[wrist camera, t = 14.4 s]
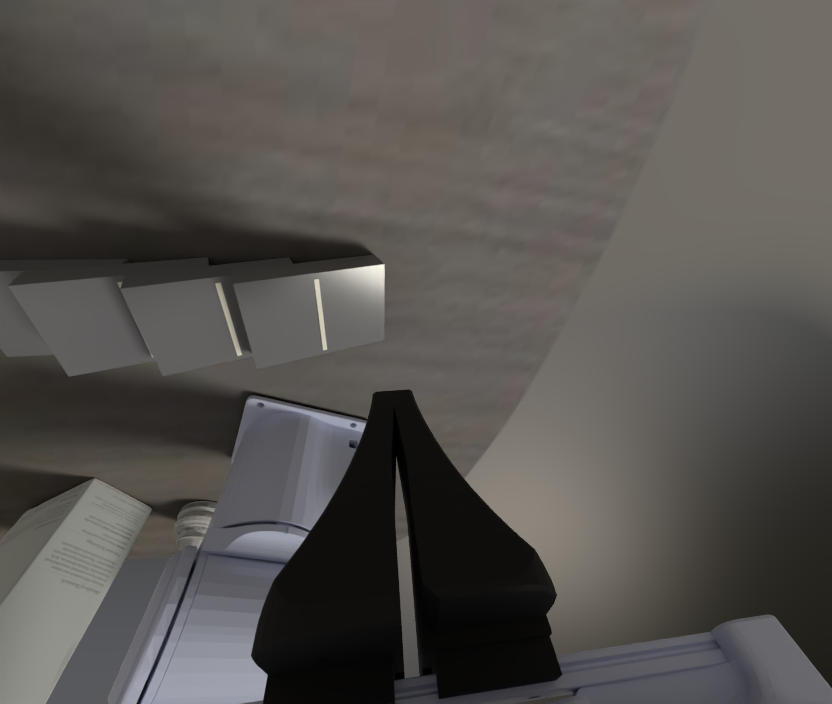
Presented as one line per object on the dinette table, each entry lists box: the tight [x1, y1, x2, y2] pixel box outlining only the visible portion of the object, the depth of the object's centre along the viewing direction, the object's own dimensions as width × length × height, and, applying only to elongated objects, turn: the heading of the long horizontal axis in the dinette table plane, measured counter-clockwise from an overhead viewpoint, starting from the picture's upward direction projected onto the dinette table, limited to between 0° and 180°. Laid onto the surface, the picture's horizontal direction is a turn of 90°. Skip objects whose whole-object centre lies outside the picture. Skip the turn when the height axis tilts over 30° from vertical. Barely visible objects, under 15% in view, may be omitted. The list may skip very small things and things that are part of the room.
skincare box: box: [0, 478, 152, 704], centre depth 24 cm, size 8×6×15 cm
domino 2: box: [8, 257, 211, 377], centre depth 18 cm, size 2×5×8 cm
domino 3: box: [120, 257, 293, 376], centre depth 18 cm, size 2×5×8 cm
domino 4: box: [231, 254, 384, 369], centre depth 19 cm, size 2×5×8 cm
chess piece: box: [174, 501, 217, 552], centre depth 28 cm, size 4×4×10 cm
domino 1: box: [0, 259, 130, 357], centre depth 19 cm, size 2×5×8 cm
